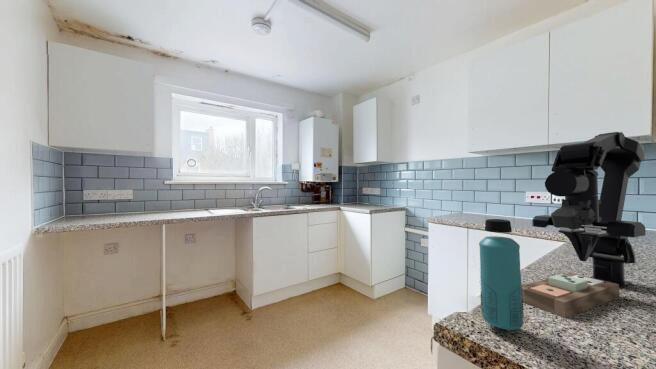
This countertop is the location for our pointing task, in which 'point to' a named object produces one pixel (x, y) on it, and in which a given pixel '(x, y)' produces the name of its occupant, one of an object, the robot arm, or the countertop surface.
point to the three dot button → (568, 282)
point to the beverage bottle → (501, 278)
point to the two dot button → (590, 280)
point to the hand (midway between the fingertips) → (583, 260)
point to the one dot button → (550, 291)
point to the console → (570, 297)
